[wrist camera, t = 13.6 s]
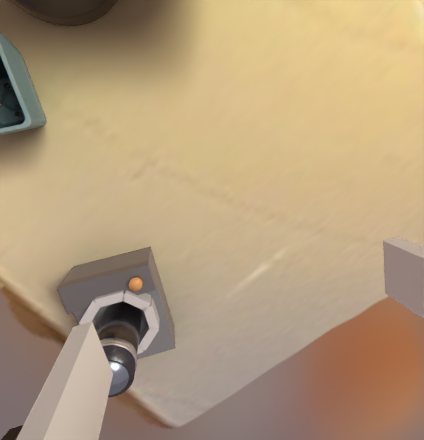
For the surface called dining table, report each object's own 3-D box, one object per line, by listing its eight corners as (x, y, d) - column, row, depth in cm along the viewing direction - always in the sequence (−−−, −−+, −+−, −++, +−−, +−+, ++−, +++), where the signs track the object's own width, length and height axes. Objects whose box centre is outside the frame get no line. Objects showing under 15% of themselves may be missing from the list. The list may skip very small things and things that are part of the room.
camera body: (73, 266, 39) (54, 292, 32) (150, 246, 41) (147, 267, 34) (105, 346, 43) (93, 384, 36) (174, 326, 45) (176, 359, 38)
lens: (98, 330, 37) (74, 397, 27) (107, 296, 36) (86, 352, 26) (137, 337, 38) (127, 403, 29) (147, 304, 37) (140, 360, 28)
